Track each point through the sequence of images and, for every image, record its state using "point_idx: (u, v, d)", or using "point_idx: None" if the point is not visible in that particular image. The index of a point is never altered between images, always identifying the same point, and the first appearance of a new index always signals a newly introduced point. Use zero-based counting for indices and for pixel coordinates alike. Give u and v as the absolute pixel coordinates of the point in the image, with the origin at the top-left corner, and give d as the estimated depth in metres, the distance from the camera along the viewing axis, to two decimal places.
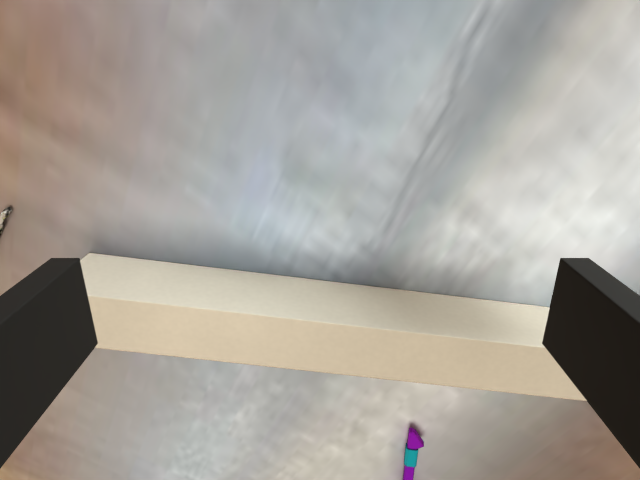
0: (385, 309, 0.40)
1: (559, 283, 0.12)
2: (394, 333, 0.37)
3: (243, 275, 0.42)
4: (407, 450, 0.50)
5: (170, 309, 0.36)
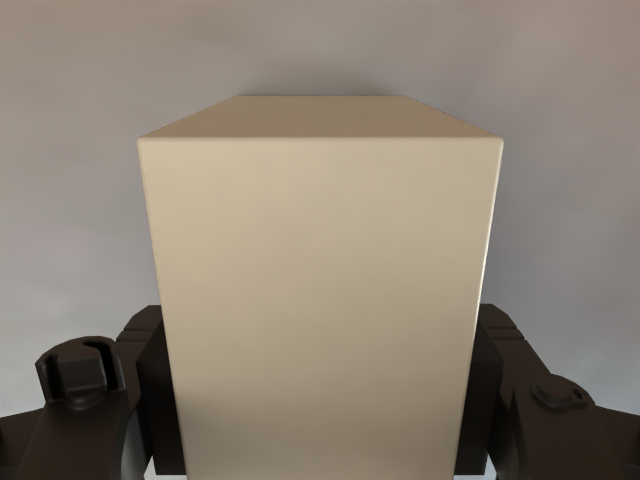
0: None
1: None
2: None
3: None
4: None
5: None
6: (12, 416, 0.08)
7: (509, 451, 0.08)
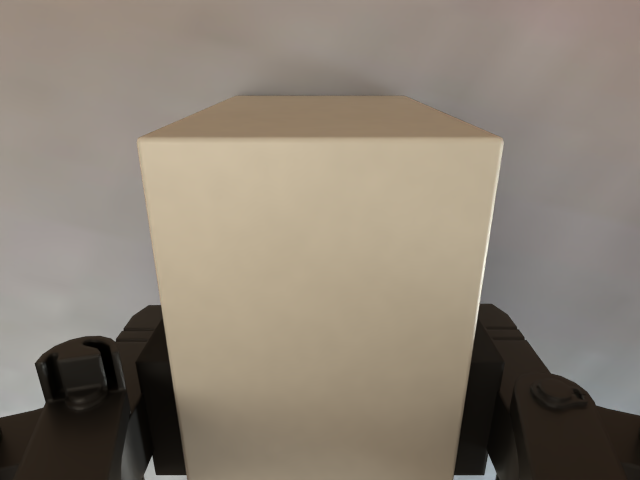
0: None
1: None
2: None
3: None
4: None
5: None
6: (12, 416, 0.08)
7: (509, 451, 0.08)
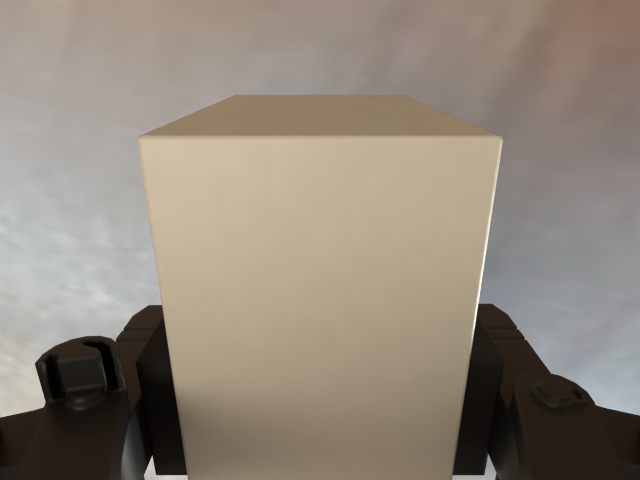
0: None
1: None
2: None
3: None
4: None
5: None
6: (12, 416, 0.08)
7: (509, 451, 0.08)
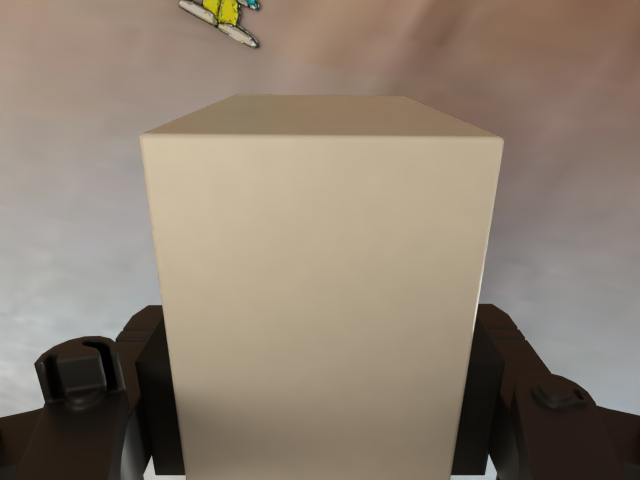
0: None
1: None
2: None
3: None
4: None
5: None
6: (11, 416, 0.08)
7: (509, 451, 0.08)
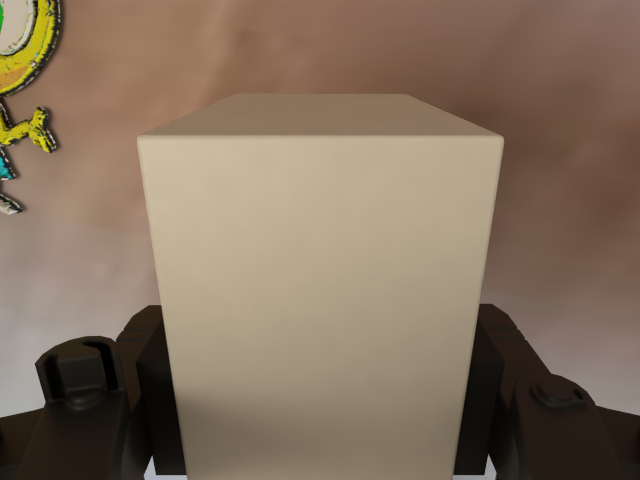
0: None
1: None
2: None
3: None
4: None
5: None
6: (12, 416, 0.08)
7: (509, 451, 0.08)
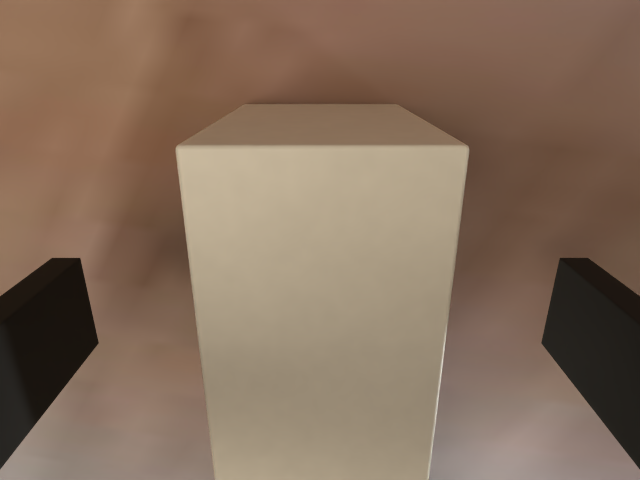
0: None
1: (559, 283, 0.12)
2: None
3: None
4: None
5: None
6: None
7: None
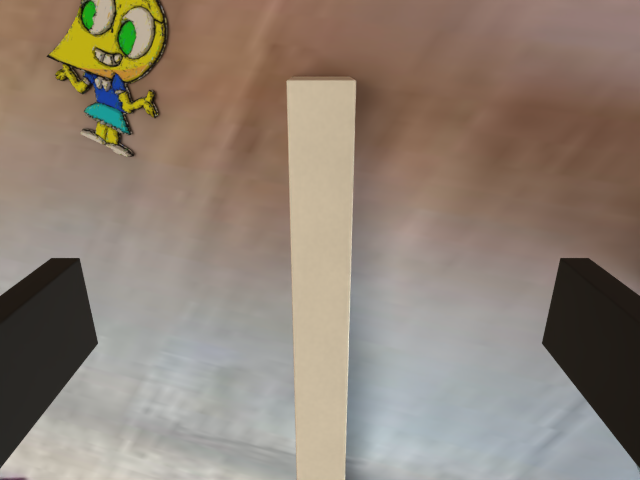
0: None
1: (559, 283, 0.12)
2: (344, 394, 0.43)
3: None
4: None
5: (347, 211, 0.36)
6: None
7: None
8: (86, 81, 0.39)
